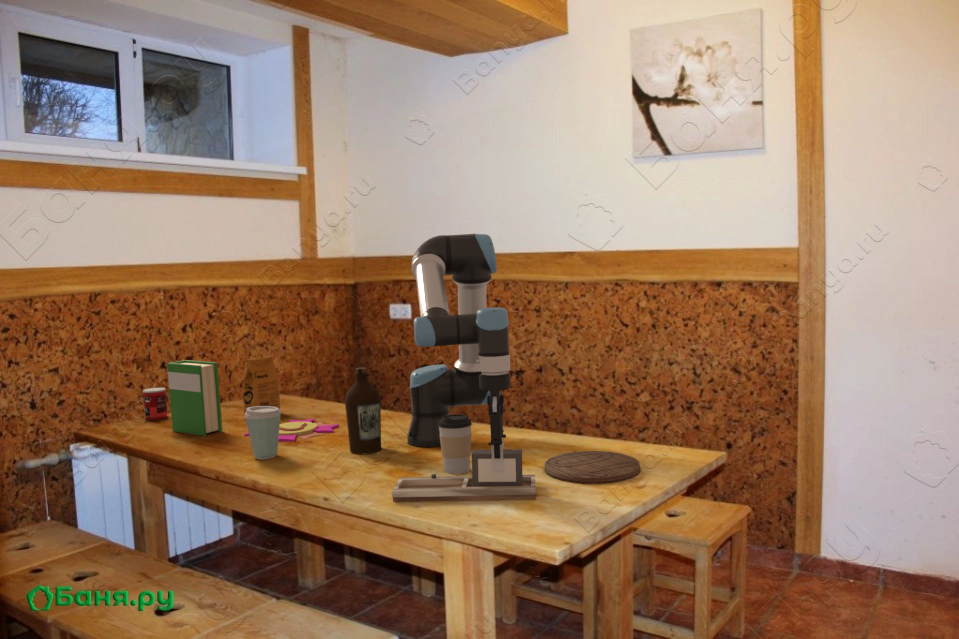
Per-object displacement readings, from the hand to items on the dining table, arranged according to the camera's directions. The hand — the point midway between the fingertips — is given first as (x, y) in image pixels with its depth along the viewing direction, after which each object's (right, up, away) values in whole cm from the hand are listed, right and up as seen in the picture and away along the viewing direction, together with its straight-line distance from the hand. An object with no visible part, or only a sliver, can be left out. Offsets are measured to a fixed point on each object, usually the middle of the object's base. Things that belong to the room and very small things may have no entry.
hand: (498, 467), depth 187 cm
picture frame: (0, -4, 0) cm, 4 cm away
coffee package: (-86, 0, +104) cm, 135 cm away
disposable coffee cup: (-68, -5, +43) cm, 81 cm away
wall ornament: (-68, -3, +75) cm, 102 cm away
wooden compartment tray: (-8, -6, +1) cm, 10 cm away
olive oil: (-39, -4, +46) cm, 61 cm away
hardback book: (-103, -3, +82) cm, 131 cm away
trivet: (+25, -4, +17) cm, 31 cm away
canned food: (-128, -2, +107) cm, 167 cm away
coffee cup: (-11, -5, +21) cm, 24 cm away
